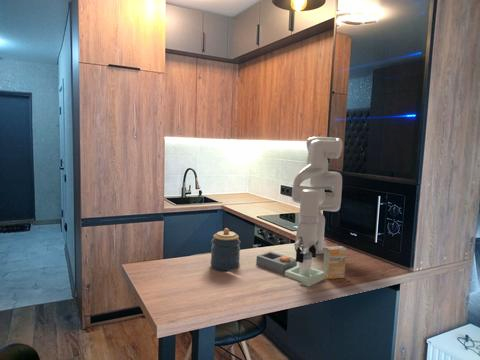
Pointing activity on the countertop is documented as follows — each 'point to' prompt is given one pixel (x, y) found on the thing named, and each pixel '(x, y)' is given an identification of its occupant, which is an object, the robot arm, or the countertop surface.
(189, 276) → the countertop surface
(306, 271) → the cartridge
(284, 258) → the brown egg
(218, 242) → the canister
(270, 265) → the housing
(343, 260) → the supplement box
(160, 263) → the countertop surface
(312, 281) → the tray
